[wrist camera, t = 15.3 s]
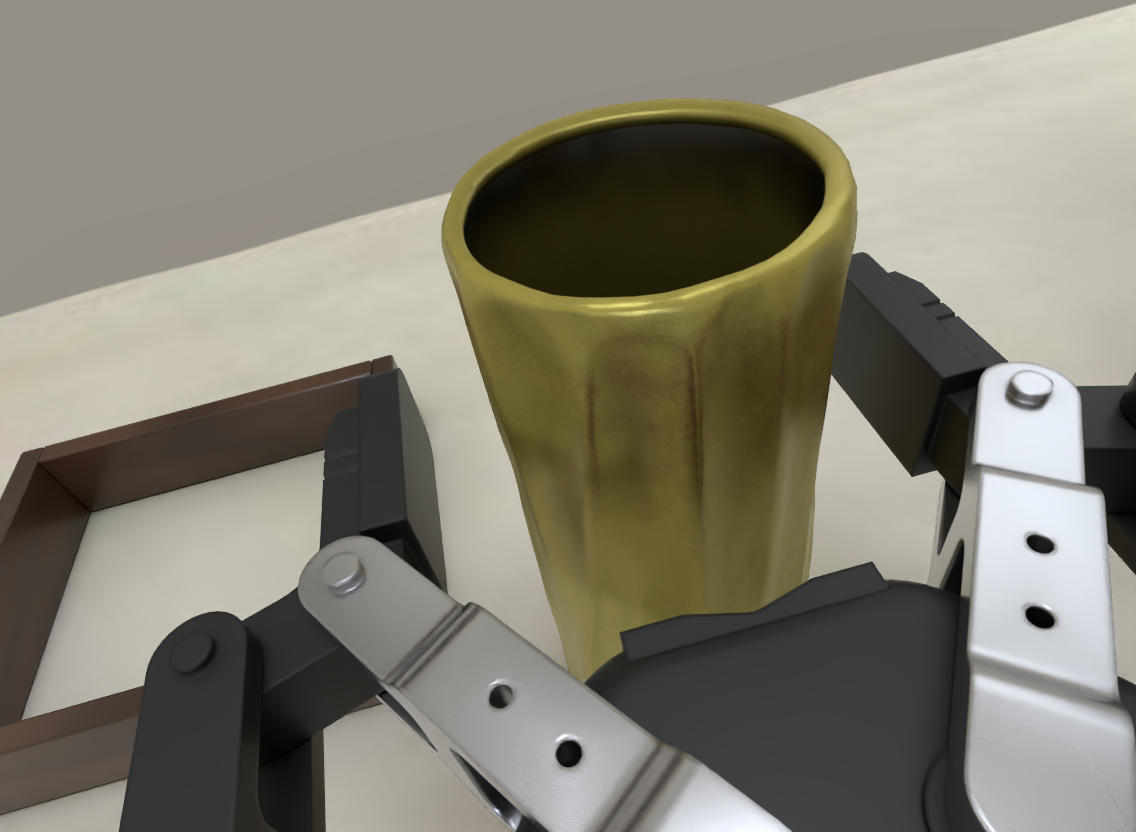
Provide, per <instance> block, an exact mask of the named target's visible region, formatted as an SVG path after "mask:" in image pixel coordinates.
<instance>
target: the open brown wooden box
mask: <svg viewBox="0 0 1136 832" xmlns="http://www.w3.org/2000/svg"><path fill="white" fill-rule="evenodd" d="M396 368H398V367H397V365H396V362H395V360H394V358H393V356H392V355H389V356H385V357H381V358H377V359H374V360H372V362H371V361H366V362H362V363H358V364H354V365H351V366H347V367H343V368H339V369H336V370H332V371H328V372H324V373H321V374H317V375H313V376H309V377H305V378H302V379H298V380H294V381H290V382H287V383H283V384H279V385H275V386H272V387H268V388H264V389H260V390H256V391H253V392H249V393H245V394H241V395H238V396H234V397H230V398H226V399H222V400H219V401H215V402H211V403H207V404H204V405H200V406H196V407H192V408H189V409H185V410H181V411H177V412H173V413H170V414H166V415H162V416H158V417H155V418H151V419H147V420H143V421H140V422H136V423H132V424H128V425H124V426H121V427H117V428H113V429H109V430H106V431H102V432H98V433H94V434H90V435H87V436H83V437H79V438H75V439H72V440H68V441H64V442H60V443H57V444H53V445H49V446H46V447H44V448H38V449H34V450H30V451H26V452H23V453H22V454H21V456H20V458H19V460H18V462H17V464H16V466H15V469H14V471H13V473H12V475H11V477H10V479H9V482H8V484H7V486H6V488H5V490H4V492H3V495H2V497H1V499H0V814H3V813H7V812H10V811H13V810H17V809H20V808H24V807H27V806H31V805H34V804H37V803H41V802H44V801H48V800H51V799H55V798H58V797H61V796H65V795H68V794H72V793H75V792H79V791H82V790H85V789H89V788H92V787H96V786H99V785H102V784H106V783H109V782H113V781H116V780H120V779H123V778H126V777H128V775H129V770H130V764H131V758H132V752H133V747H134V741H135V735H136V729H137V724H138V718H139V712H140V706H141V700H142V695H143V689H144V686H141V687H137V688H134V689H130V690H127V691H123V692H120V693H116V694H113V695H109V696H106V697H102V698H99V699H95V700H92V701H88V702H85V703H81V704H78V705H74V706H71V707H67V708H64V709H60V710H57V711H53V712H50V713H46V714H43V715H39V716H36V717H32V718H29V719H25V720H22V721H19V720H20V717H21V714H22V711H23V708H24V705H25V702H26V699H27V696H28V693H29V690H30V687H31V684H32V681H33V678H34V675H35V672H36V669H37V667H38V664H39V661H40V658H41V655H42V652H43V649H44V646H45V643H46V640H47V637H48V634H49V631H50V628H51V625H52V622H53V619H54V616H55V613H56V610H57V607H58V604H59V601H60V599H61V596H62V593H63V590H64V587H65V584H66V581H67V578H68V575H69V572H70V569H71V566H72V563H73V560H74V557H75V554H76V551H77V548H78V545H79V542H80V539H81V536H82V534H83V531H84V528H85V525H86V522H87V519H88V516H89V513H90V511H95V510H99V509H103V508H106V507H110V506H114V505H118V504H121V503H125V502H129V501H132V500H136V499H140V498H143V497H147V496H151V495H154V494H158V493H162V492H165V491H169V490H173V489H177V488H180V487H184V486H188V485H191V484H195V483H199V482H202V481H206V480H210V479H213V478H217V477H221V476H224V475H228V474H232V473H236V472H239V471H243V470H247V469H250V468H254V467H258V466H261V465H265V464H269V463H272V462H276V461H280V460H284V459H287V458H291V457H295V456H298V455H302V454H306V453H309V452H313V451H317V450H320V449H324V448H325V436H326V433H327V431H328V429H329V428H330V426H331V424H332V422H333V420H334V418H335V417H336V415H337V413H338V412H340V411H344V410H348V409H352V408H356V407H358V382H359V378H361V377H365V376H368V375H372V374H376V373H380V372H384V371H388V370H392V369H396ZM380 703H382V702H381V701H380V700H379V699H378V698H377V697H376V696H375V697H373V698H371V699H370V700H368V701H367V702H365V703H364V704H362V705H360V706H359V707H357V708H356V709H354V710H353V711H356V710H359V709H363V708H366V707H370V706H373V705H376V704H380ZM351 712H352V711H351Z"/></svg>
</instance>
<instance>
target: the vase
mask: <svg viewBox="0 0 1136 832" xmlns="http://www.w3.org/2000/svg"><path fill="white" fill-rule="evenodd" d="M857 213H858V212H857V186H856V183H855V180H854V177H853V174H852V170H851V167H850V164H849V161H848V159H847V158H846V156H845V154H844V153H843V151H842V149H841V148H840V147H839V146H838V145H837V144H836V143H835V142H834V141H833V140H832V139H831V138H830V137H829V136H828V135H826V134H825V133H824V132H822V131H821V130H820V129H818V128H817V127H815V126H813V125H812V124H810V123H808V122H807V121H805V120H803V119H800V118H798V117H795V116H793V115H790V114H788V113H785V112H782V111H779V110H777V109H774V108H770V107H766V106H763V105H758V104H753V103H748V102H740V101H730V100H713V99H698V98H670V99H659V100H650V101H641V102H632V103H624V104H615V105H609V106H604V107H598V108H594V109H590V110H585V111H582V112H578V113H575V114H571V115H568V116H565V117H562V118H558V119H555V120H552V121H549V122H547V123H544V124H542V125H540V126H537V127H535V128H533V129H531V130H529V131H527V132H525V133H522V134H521V135H519V136H517V137H515V138H513V139H512V140H510V141H508V142H506V143H505V144H503V145H501V146H499V147H498V148H496V149H494V150H493V151H491V152H490V153H488V154H487V155H485V156H484V157H482V158H481V159H480V160H479V161H478V162H477V163H476V164H474V165H473V166H472V167H471V168H470V169H469V171H467V173H466V174H465V175H464V176H463V177H462V178H461V180H460V181H459V183H458V184H457V186H456V187H455V188H454V190H453V192H452V195H451V198H450V200H449V203H448V206H447V208H446V211H445V214H444V218H443V223H442V248H443V252H444V256H445V260H446V263H447V266H448V269H449V272H450V275H451V278H452V280H453V283H454V286H455V289H456V292H457V295H458V298H459V301H460V305H461V308H462V312H463V315H464V319H465V322H466V326H467V329H468V332H469V336H470V339H471V342H472V346H473V349H474V352H475V356H476V359H477V362H478V365H479V369H480V372H481V375H482V378H483V381H484V385H485V388H486V391H487V394H488V397H489V401H490V404H491V407H492V410H493V413H494V416H495V419H496V423H497V426H498V429H499V432H500V435H501V437H502V440H503V443H504V446H505V448H506V451H507V453H508V456H509V459H510V462H511V464H512V467H513V470H514V474H515V477H516V481H517V485H518V489H519V494H520V499H521V503H522V507H523V511H524V515H525V519H526V523H527V526H528V530H529V534H530V537H531V541H532V545H533V548H534V552H535V555H536V559H537V562H538V566H539V569H540V573H541V577H542V581H543V584H544V588H545V591H546V595H547V598H548V601H549V604H550V607H551V610H552V613H553V615H554V618H555V621H556V624H557V628H558V631H559V634H560V637H561V641H562V645H563V649H564V653H565V657H566V661H567V665H568V669H569V673H571V674H572V675H573V676H575V677H576V678H577V679H579V680H580V681H581V682H583V683H585V682H586V680H587V679H588V678H589V677H590V676H591V675H592V674H593V673H594V672H595V671H596V670H597V669H598V668H599V667H600V666H602V665H603V664H604V663H606V662H607V661H608V660H609V659H611V658H612V657H614V656H616V655H617V654H619V653H621V652H622V651H623V648H622V643H621V638H620V632H622V631H626V630H629V629H633V628H637V627H640V626H644V625H647V624H651V623H654V622H658V621H662V620H665V619H669V618H672V617H676V616H679V615H685V614H715V613H744V612H753V611H757V610H759V609H761V608H762V607H764V606H766V605H768V604H769V603H771V602H773V601H774V600H776V599H778V598H779V597H781V596H783V595H784V594H786V593H788V592H789V591H791V590H793V589H794V588H796V587H798V586H800V585H801V584H803V583H805V582H806V581H808V578H809V570H810V562H811V552H812V539H813V523H814V509H815V480H816V470H817V462H818V454H819V448H820V442H821V436H822V431H823V425H824V418H825V412H826V406H827V399H828V392H829V385H830V378H831V370H832V363H833V355H834V348H835V341H836V335H837V329H838V323H839V317H840V312H841V306H842V301H843V295H844V290H845V284H846V279H847V274H848V269H849V265H850V262H851V257H852V252H853V248H854V243H855V238H856V229H857Z"/></svg>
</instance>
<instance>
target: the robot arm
mask: <svg viewBox="0 0 1136 832" xmlns="http://www.w3.org/2000/svg"><path fill="white" fill-rule="evenodd" d="M831 375H832V376H833V377H834V378H835V380H836V381H837V382H838V384H839V385H840V386H841V387H842V389H843V390H844V391H845V392H846V394H847V395H848V396H849V398H850V399H851V400H852V401H853V403H854V404H855V405H856V406H857V408H858V409H859V410H860V412H861V413H862V414H863V415H864V417H865V418H866V419H867V420H868V422H869V423H870V424H871V426H872V427H873V428H874V429H875V431H876V432H877V433H878V434H879V436H880V437H881V438H882V440H883V441H884V442H885V443H886V445H887V446H888V447H889V448H890V450H891V451H892V452H893V454H894V455H895V456H896V457H897V459H898V460H899V461H900V463H901V464H902V465H903V466H904V468H905V469H906V470H907V471H908V473H909V474H910V475H911V477H914V476H917V475H921V474H925V473H928V472H932V471H936V470H937V471H938V472H939V473H940V474H941V475H942V477H943V478H944V479H943V482H942V485H941V488H940V493H939V502H938V510H937V518H936V526H935V535H934V543H933V551H932V559H931V567H930V573H929V578H928V582H927V585H926V584H921V583H915V582H910V581H900V580H884V579H883V577H882V576H881V574H880V573H879V571H878V570H877V568H876V566H875V565H874V563H873V562H869V563H865V564H861V565H858V566H854V567H851V568H847V569H844V570H840V571H836V572H833V573H829V574H826V575H822V576H819V577H815V578H811V579H810V580H808V581H806V582H805V583H803V584H801V585H800V586H798V587H796V588H794V589H793V590H791V591H789V592H788V593H786V594H784V595H783V596H781V597H779V598H778V599H776V600H774V601H773V602H771V603H769V604H768V605H766V606H764V607H762V608H761V609H759V610H757V611H753V612H744V613H715V614H685V615H679V616H676V617H672V618H669V619H665V620H662V621H658V622H654V623H651V624H647V625H644V626H640V627H637V628H633V629H629V630H626V631H622V632H620V638H621V643H622V648H623V651H622V652H621V653H619V654H617V655H616V656H614V657H612V658H611V659H609V660H608V661H607V662H606V663H604V664H603V665H602V666H600V667H599V668H598V669H597V670H596V671H595V672H594V673H593V674H592V675H591V676H590V677H589V678H588V679H587V680H586V682H585V683H583V682H581V681H580V680H579V679H577V678H576V677H575V676H573V675H572V674H571V673H569V672H568V671H567V670H565V669H564V668H563V667H561V666H560V665H559V664H557V663H556V662H555V661H553V660H552V659H551V658H549V657H548V656H547V655H545V654H544V653H543V652H542V651H540V650H539V649H538V648H536V647H535V646H534V645H532V644H531V643H530V642H528V641H527V640H526V639H524V638H523V637H522V636H520V635H519V634H518V633H516V632H515V631H514V630H512V629H511V628H510V627H508V626H507V625H506V624H504V623H503V622H502V621H501V620H499V619H498V618H497V617H495V616H494V615H493V614H491V613H490V612H489V611H487V610H486V609H484V608H483V607H481V606H480V605H478V604H476V603H473V602H469V603H468V604H467V605H466V606H464V605H461V604H460V603H458V602H457V601H455V600H454V599H453V598H451V597H450V596H449V595H448V591H447V581H446V572H445V563H444V554H443V544H442V535H441V526H440V517H439V507H438V498H437V489H436V480H435V471H434V461H433V454H432V449H431V444H430V441H429V437H428V434H427V430H426V428H425V425H424V423H423V420H422V418H421V415H420V413H419V410H418V408H417V405H416V403H415V401H414V398H413V396H412V393H411V391H410V388H409V386H408V383H407V381H406V379H405V376H404V374H403V372H402V370H401V369H400V368H396V369H392V370H388V371H384V372H380V373H376V374H372V375H368V376H365V377H361V378H359V382H358V407H356V408H352V409H348V410H344V411H340V412H338V413H337V415H336V417H335V418H334V420H333V422H332V424H331V426H330V428H329V429H328V431H327V433H326V436H325V456H324V457H325V462H324V478H325V480H323V496H322V516H321V536H320V549H319V552H317V553H316V554H315V555H314V556H313V557H312V558H311V560H310V561H309V562H308V563H307V565H306V566H305V568H304V570H303V571H302V574H301V576H300V579H299V583H298V586H297V587H296V588H295V589H294V590H293V591H292V592H290V593H289V594H288V595H286V596H285V597H283V598H281V599H280V600H278V601H276V602H275V603H273V604H271V605H269V606H268V607H266V608H264V609H262V610H260V611H259V612H257V613H255V614H253V615H252V616H250V617H248V618H246V619H245V620H243V621H241V620H240V619H239V618H238V617H236V616H234V615H233V614H230V613H227V612H219V611H216V612H208V613H204V614H201V615H198V616H196V617H193V618H191V619H189V620H188V621H186V622H184V623H183V624H181V625H180V626H178V627H177V628H176V629H174V630H173V631H172V632H171V633H170V634H169V635H168V636H167V637H166V638H165V639H164V640H163V641H162V642H161V644H160V645H159V646H158V647H157V649H156V651H155V652H154V654H153V656H152V658H151V660H150V662H149V665H148V668H147V672H146V677H145V683H144V689H143V695H142V700H141V706H140V712H139V718H138V724H137V729H136V735H135V741H134V747H133V752H132V758H131V764H130V770H129V775H128V781H127V787H126V793H125V799H124V804H123V810H122V816H121V822H120V827H119V832H326V823H325V782H324V741H323V729H324V728H326V727H327V726H329V725H331V724H332V723H334V722H335V721H337V720H338V719H340V718H342V717H343V716H345V715H346V714H348V713H349V712H351V711H353V710H354V709H356V708H357V707H359V706H360V705H362V704H364V703H365V702H367V701H368V700H370V699H371V698H373V697H375V696H376V697H377V698H378V699H379V700H380V701H381V702H382V703H383V704H384V705H385V706H386V707H387V708H388V709H389V710H390V711H391V712H392V713H393V714H394V715H395V716H396V717H397V718H398V719H399V720H400V721H401V722H402V723H403V724H404V725H405V726H406V727H408V728H409V729H410V730H411V731H412V732H413V733H414V734H415V735H416V736H417V737H418V738H419V739H420V740H421V741H422V742H423V743H424V744H425V745H426V746H427V747H428V748H429V749H430V750H431V751H432V752H433V753H434V754H435V755H436V756H437V757H438V758H439V759H440V760H441V761H442V762H443V763H444V764H445V765H446V766H447V767H448V768H449V769H450V770H451V771H452V772H453V773H454V775H455V776H456V777H457V778H458V779H459V780H460V781H461V782H462V783H463V785H464V786H465V787H466V788H467V789H468V790H469V791H470V792H471V793H472V794H473V795H474V796H475V797H476V798H477V799H478V800H479V801H480V802H481V803H482V804H483V805H484V806H485V807H486V808H487V809H488V810H489V811H490V812H491V813H492V814H493V815H494V816H495V817H496V818H497V819H498V820H499V821H500V822H501V823H502V824H503V825H504V826H505V827H506V828H507V829H509V830H510V831H511V832H1136V685H1135V684H1133V683H1131V682H1129V681H1127V680H1125V679H1123V678H1121V677H1119V676H1117V667H1116V653H1115V638H1114V624H1113V610H1112V596H1111V582H1110V568H1109V554H1108V544H1109V545H1110V546H1111V547H1112V549H1113V550H1114V551H1115V552H1116V553H1117V554H1118V555H1119V557H1120V558H1121V559H1122V560H1123V561H1124V562H1125V563H1126V564H1127V566H1128V567H1129V568H1130V569H1131V570H1132V571H1133V572H1134V573H1135V575H1136V372H1135V374H1134V376H1133V378H1132V379H1131V381H1130V383H1129V385H1128V386H1075V385H1074V383H1073V382H1071V381H1070V380H1069V379H1068V378H1067V377H1065V376H1064V375H1062V374H1061V373H1059V372H1057V371H1055V370H1053V369H1051V368H1048V367H1045V366H1042V365H1038V364H1034V363H1028V362H1008V361H1007V360H1006V359H1005V358H1004V357H1003V356H1002V355H1000V354H999V353H998V352H997V351H996V350H995V349H994V348H993V347H992V346H990V345H989V344H988V343H987V342H986V341H985V340H984V339H983V338H982V337H981V336H979V335H978V334H977V333H976V332H975V331H974V330H973V329H972V328H971V327H970V326H968V325H967V324H966V323H965V322H964V321H963V320H962V319H961V318H960V317H959V316H958V317H955V313H954V312H953V311H952V310H951V309H950V308H949V307H948V306H946V305H945V304H944V303H940V299H939V298H938V297H936V296H935V295H934V294H933V293H932V292H931V291H930V290H929V289H928V288H927V287H925V286H924V285H923V284H922V283H920V282H918V281H916V280H914V279H911V278H909V277H907V276H905V275H903V274H900V273H898V272H896V271H894V272H891V273H887V272H886V271H885V270H884V269H883V268H882V267H881V266H880V265H879V264H878V263H877V262H876V261H875V260H874V259H873V258H872V257H870V256H869V255H868V254H866V253H864V252H861V253H856V254H852V257H851V262H850V265H849V269H848V274H847V279H846V284H845V290H844V295H843V301H842V306H841V312H840V317H839V323H838V329H837V335H836V341H835V348H834V355H833V363H832V370H831Z"/></svg>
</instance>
